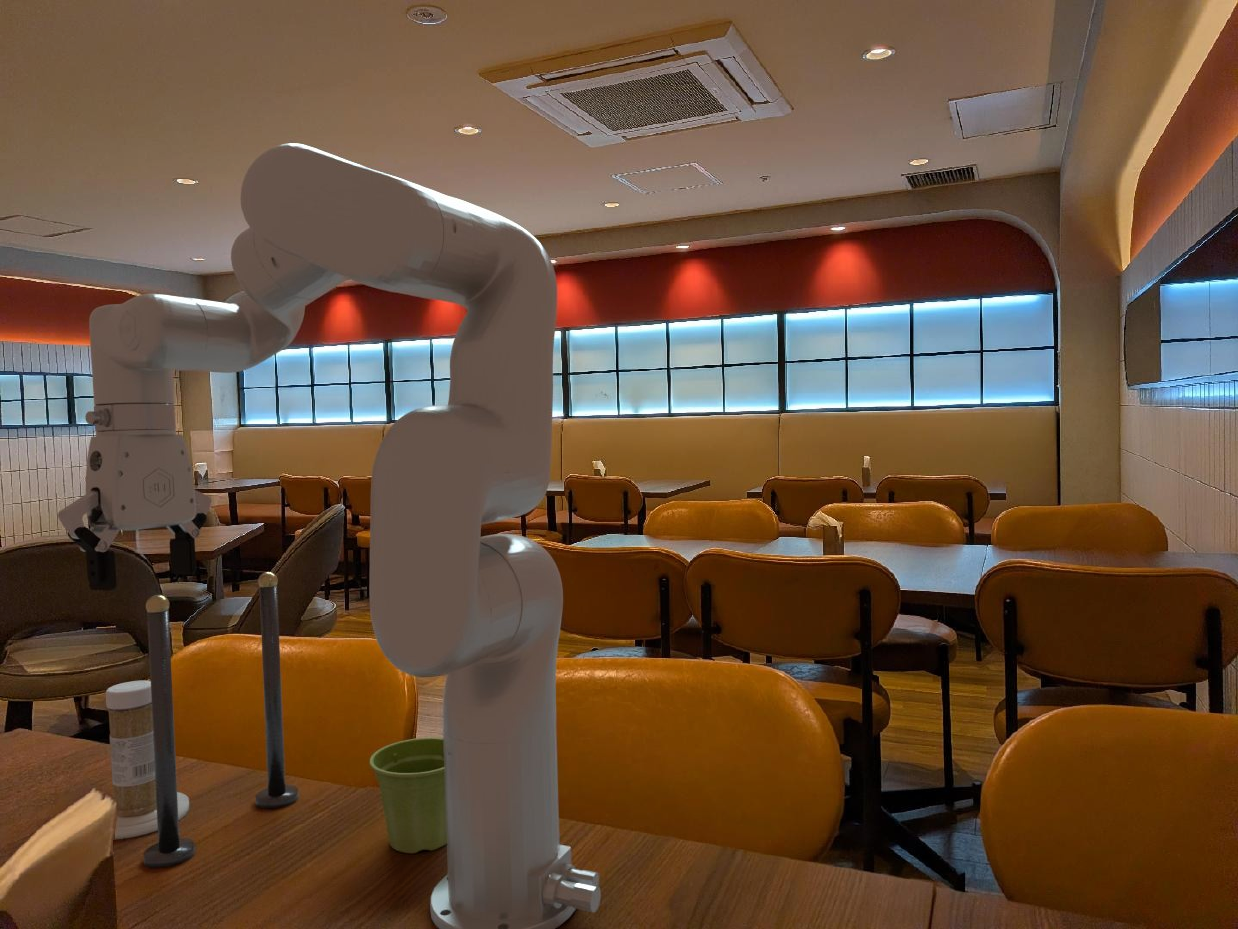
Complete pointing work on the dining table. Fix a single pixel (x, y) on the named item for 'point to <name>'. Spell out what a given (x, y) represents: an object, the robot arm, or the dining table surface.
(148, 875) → the dining table surface
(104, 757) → the dining table surface
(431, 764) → the plant pot
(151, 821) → the white round disc
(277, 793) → the pair of dark posts
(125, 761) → the sprinkles bottle
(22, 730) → the dining table surface
